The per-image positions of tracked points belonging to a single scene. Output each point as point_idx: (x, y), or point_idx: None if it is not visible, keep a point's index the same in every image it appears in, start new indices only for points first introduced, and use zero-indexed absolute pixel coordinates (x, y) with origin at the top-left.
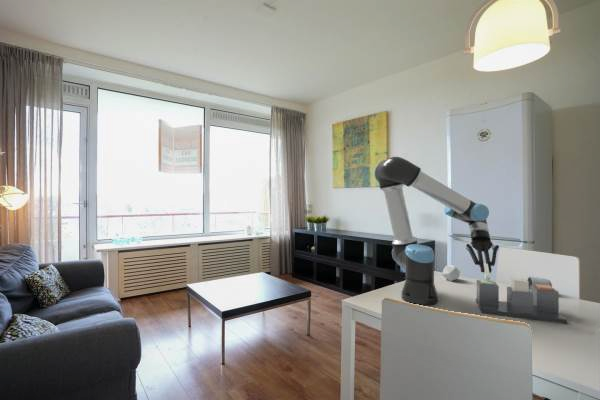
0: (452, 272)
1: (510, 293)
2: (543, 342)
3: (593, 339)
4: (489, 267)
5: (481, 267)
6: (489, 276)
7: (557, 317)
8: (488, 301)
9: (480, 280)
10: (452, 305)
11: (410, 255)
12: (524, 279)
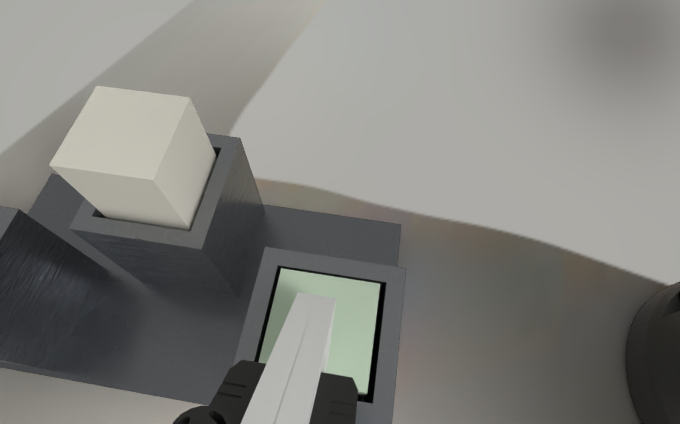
0: None
1: (236, 175)
2: (284, 34)
3: (100, 76)
4: (234, 405)
5: (348, 415)
6: (301, 297)
7: (75, 190)
8: None
9: (369, 368)
10: (536, 320)
11: None
12: (77, 135)
